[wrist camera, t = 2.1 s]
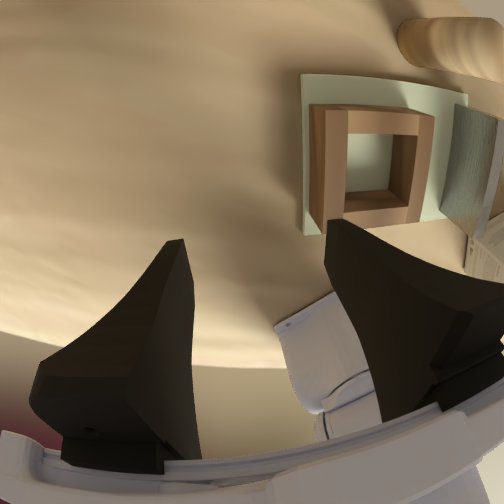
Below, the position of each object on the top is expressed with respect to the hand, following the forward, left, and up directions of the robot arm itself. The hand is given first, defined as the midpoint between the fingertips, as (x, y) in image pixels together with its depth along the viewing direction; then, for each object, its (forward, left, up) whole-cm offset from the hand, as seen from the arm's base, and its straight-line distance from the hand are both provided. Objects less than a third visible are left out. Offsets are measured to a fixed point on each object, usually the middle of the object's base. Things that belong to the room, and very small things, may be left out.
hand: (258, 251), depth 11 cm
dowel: (+17, +1, -10) cm, 20 cm away
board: (+11, -6, -10) cm, 16 cm away
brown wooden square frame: (+8, -5, -10) cm, 13 cm away
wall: (+16, -9, -10) cm, 21 cm away
